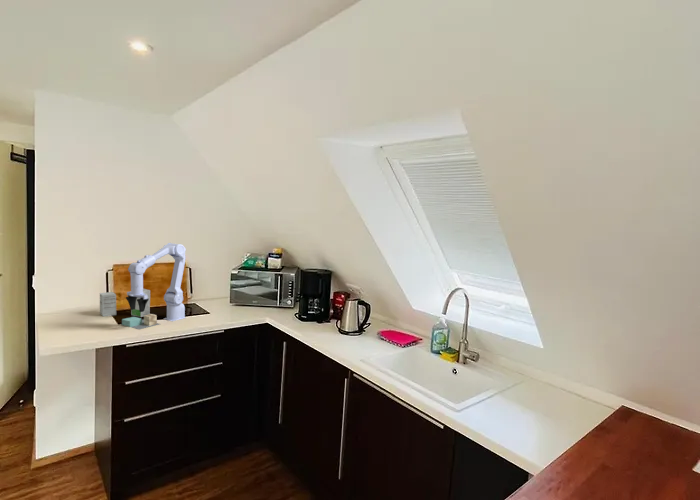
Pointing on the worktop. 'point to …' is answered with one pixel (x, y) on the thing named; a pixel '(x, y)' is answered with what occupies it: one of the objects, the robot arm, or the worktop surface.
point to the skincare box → (147, 308)
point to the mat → (142, 325)
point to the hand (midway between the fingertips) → (137, 310)
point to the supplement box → (108, 304)
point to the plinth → (132, 321)
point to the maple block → (150, 319)
